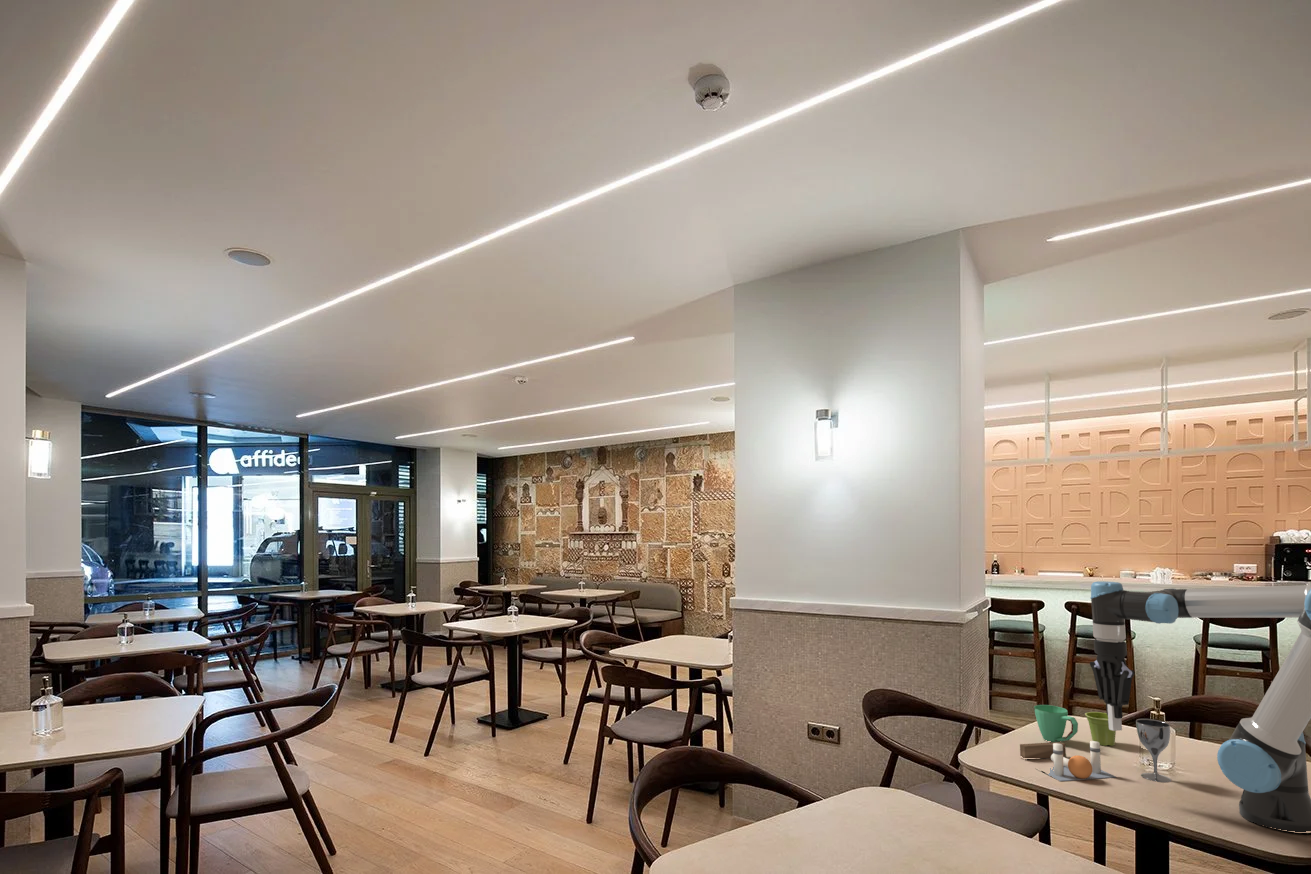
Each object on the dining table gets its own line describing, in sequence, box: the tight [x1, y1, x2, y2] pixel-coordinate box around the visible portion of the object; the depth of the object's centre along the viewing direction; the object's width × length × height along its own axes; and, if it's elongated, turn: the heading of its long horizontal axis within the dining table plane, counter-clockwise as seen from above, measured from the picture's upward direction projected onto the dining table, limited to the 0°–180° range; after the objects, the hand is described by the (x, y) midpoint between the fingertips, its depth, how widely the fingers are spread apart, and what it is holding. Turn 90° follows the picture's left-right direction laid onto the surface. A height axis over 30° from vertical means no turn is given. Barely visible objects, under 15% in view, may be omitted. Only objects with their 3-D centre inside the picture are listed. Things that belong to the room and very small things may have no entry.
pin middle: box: [1050, 754, 1070, 768], centre depth 214 cm, size 2×2×8 cm
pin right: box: [1089, 740, 1102, 774], centre depth 209 cm, size 2×2×8 cm
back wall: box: [1019, 741, 1067, 758], centre depth 221 cm, size 2×14×4 cm, turn 100°
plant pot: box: [1084, 711, 1117, 747], centre depth 236 cm, size 9×9×9 cm
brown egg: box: [1068, 754, 1092, 779], centre depth 205 cm, size 6×6×6 cm
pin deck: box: [1047, 766, 1117, 782], centre depth 208 cm, size 10×18×1 cm, turn 100°
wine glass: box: [1135, 718, 1172, 783], centre depth 206 cm, size 8×8×15 cm
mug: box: [1033, 704, 1079, 742], centre depth 236 cm, size 15×10×10 cm
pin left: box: [1053, 743, 1064, 776], centre depth 207 cm, size 2×2×8 cm
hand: (1115, 729), depth 195 cm, fingers closed
